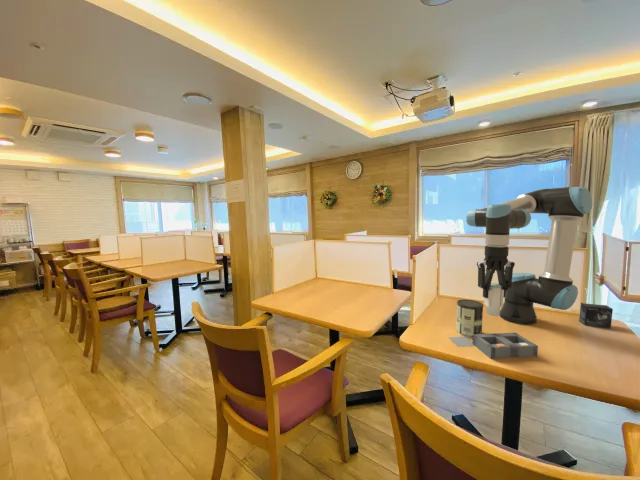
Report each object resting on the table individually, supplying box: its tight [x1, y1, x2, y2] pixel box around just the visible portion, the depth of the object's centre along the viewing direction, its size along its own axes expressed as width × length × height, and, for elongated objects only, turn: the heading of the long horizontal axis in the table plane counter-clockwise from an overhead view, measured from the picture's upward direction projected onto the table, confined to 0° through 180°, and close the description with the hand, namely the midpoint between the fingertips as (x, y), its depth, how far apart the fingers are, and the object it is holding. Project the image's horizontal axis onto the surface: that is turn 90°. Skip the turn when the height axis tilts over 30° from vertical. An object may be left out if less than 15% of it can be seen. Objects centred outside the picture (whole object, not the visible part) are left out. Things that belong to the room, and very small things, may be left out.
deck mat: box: [447, 336, 475, 348], centre depth 113 cm, size 8×8×1 cm
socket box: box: [472, 332, 539, 360], centre depth 105 cm, size 18×11×5 cm, turn 93°
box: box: [578, 302, 614, 329], centre depth 126 cm, size 9×6×10 cm, turn 68°
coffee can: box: [455, 299, 484, 339], centre depth 120 cm, size 10×10×14 cm
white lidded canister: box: [486, 282, 501, 317], centre depth 103 cm, size 4×4×12 cm
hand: (493, 305), depth 104 cm, fingers closed on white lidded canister, 4 cm apart
